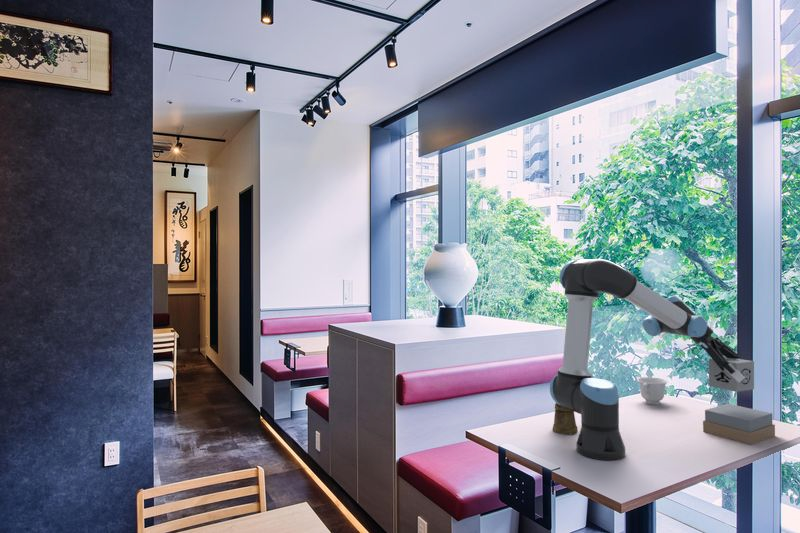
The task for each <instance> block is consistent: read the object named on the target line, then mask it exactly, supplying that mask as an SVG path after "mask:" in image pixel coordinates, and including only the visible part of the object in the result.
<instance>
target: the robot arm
mask: <svg viewBox="0 0 800 533" xmlns="http://www.w3.org/2000/svg"><path fill="white" fill-rule="evenodd" d="M559 272H560V273H559V282H560V285H561V287H562V288H563V289H564V297H565V298H566V299H567V300H568V302H567V310H566V311H567V313H566V322H565V334H564V344H563V345H564V346H563V347H564V348H563V357H562V366H560V367H559V368H558V369H557V373H556V375H554V377H553V378H552V379H551V381H550V383H549V392H550V396H551V398H552V400H553V401H554V402H555V404H556V403H557V404H559V405H560V406H562V407H563V408H566V409H569V410H572V411H574V413H577V414H579V415H580V417H581V419H580V420H581V422H580V423H581V428H580V431H579V434H578V437H577V441H576V451H577V453H579V454H580V455H582V456H584V457H587V458H588V459H589V458H590V459H594V460H598V461H599V460H600V461H601V460H602V461H614V460H615V461H616V460H620V459H623V458H624V457H625V456H626V447H625V443H624V440H623V438H622V435H621V432H620V413H619V408H620V407H619V406H620V403H619V402H620V400H619V399H620V398H619V391H618V387H617V386H616V384H614V383H613V382H612V381H610V380H607V379H603V378H602V379H600V378H599V377H592V375H593V374H592V373H591V372H590V370H589V357H590V356H589V355H590V345H591V344H590V343H591V336H592V334H591V332H592V323H593V322H592V321H593V311H594V303H595V301H597V300H598V299H599V296H600V295H599V293H600V294H607V295H611V296H613V297H615V298H616V299H618V300H626V301H627V302H629V303H631V305H634V306H635V307H637V308H638V309H640V310H642V311H643V312H644V313H646V314H648V316H647V317H645V318H644V319H643V320H642V324H641V326H642V328H643V330H644V331H645V332H646V334H648V335H650V336H652V337H657V336H659V335H661V334H663V333H664V334H671V335H679V336H685V337H690V339H691V340H692V342H694V343H695V344H696V345H699V344H700V346H699V347H701V349H702V350H704V351H705V352H706V353H707V354H708V356H709V357H710V359H711V358H712V359H713V360H714V362H715V363H716V364H717V365H718V366H719V368H720V369H722V368H723V367H724V369H725V370H726V371H727V372H728V373H729V374H730V375H731V376H732V377H733V378H734V379H735V380H736V381H737V382H738V383H739V382H741V381H742V380H743V379H745V377H744V376H743V375H742V374H741V373H740V372H739V371H738V370H736V369H735V368H734V366H733V365H732V364H731V363H728V362H727V360H726V359H725V357H727V358H736V359H741V358H742V356H741V355H740V354H738V353H737V352H735V351H734V350H733V349H732V348H731V347H730V346H728V345H727V344H726V343H724V342H723V341H722V340H721V339H720V338H719V337H717V336H716V337H713V336H712V335H713V333H714V330H713V329H712V328H711V327H710V326H708V323H707V320H706V319H705V318H704V317H702V316H699V315H697V314H696V313H695V312H694V311H693V310H692V309H691V308H689V306H687V305H686V304H685V302H684V301H682V299H680V298H679V297H678V296H675V295H670V296H669V297H667V298H665V297H663V296H662V295H660V294H658V292H656V291H654V289H653V290H652V289H651V288H649V287H648V286H647V285H645V284H643V283H642V282H640V281H638V278H637V275H635V274H633V273H632V272H630V271H629V270H627V269H625V268H623V267H622V266H620V265H618V264H616V263H615V262H612V261H610V260H608V259H607V260H606V259H602V258H596V259H594V258H591V259H590V258H589V259H587V258H581V259H580V258H578V259H574V260H570V261H568V262H566V263H565V264H564V265H563V266H562V267H561V270H560V271H559Z"/></svg>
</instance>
